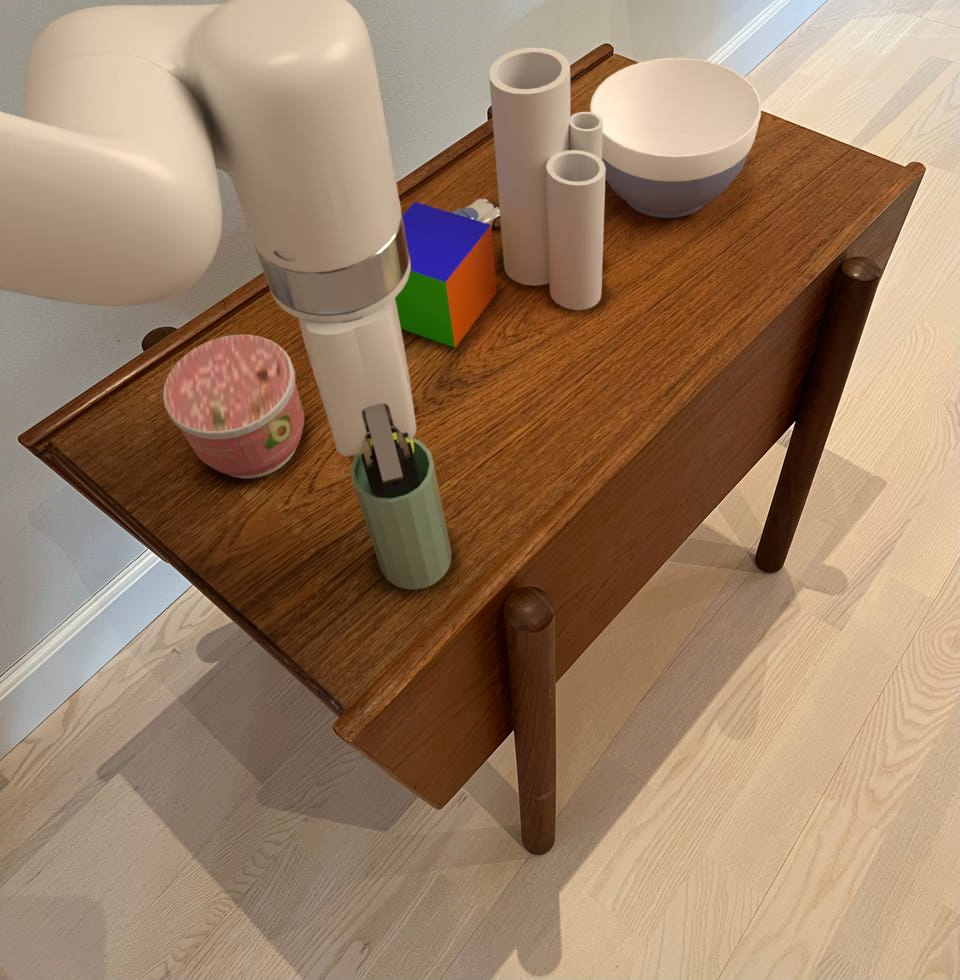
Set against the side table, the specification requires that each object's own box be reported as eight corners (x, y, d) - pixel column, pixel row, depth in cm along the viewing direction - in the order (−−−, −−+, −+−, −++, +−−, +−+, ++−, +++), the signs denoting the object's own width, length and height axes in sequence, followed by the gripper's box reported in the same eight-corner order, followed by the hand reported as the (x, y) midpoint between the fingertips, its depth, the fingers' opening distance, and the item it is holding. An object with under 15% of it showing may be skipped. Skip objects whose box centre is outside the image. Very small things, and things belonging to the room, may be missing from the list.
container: (198, 505, 78) (164, 446, 72) (191, 411, 84) (159, 349, 78) (323, 475, 79) (300, 414, 72) (307, 385, 85) (285, 321, 78)
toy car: (532, 209, 96) (531, 188, 94) (437, 262, 93) (433, 241, 91) (511, 192, 98) (509, 171, 96) (416, 244, 95) (413, 223, 93)
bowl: (647, 124, 103) (653, 40, 95) (776, 176, 96) (794, 90, 88) (556, 201, 97) (555, 118, 89) (688, 263, 90) (699, 179, 82)
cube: (425, 268, 93) (414, 201, 86) (496, 292, 90) (491, 224, 83) (382, 321, 89) (366, 256, 82) (455, 347, 86) (445, 282, 80)
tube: (387, 597, 72) (358, 510, 62) (374, 538, 75) (344, 446, 65) (458, 579, 72) (441, 489, 62) (442, 520, 75) (423, 426, 66)
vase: (489, 268, 92) (471, 78, 75) (535, 228, 95) (527, 36, 78) (582, 317, 87) (585, 125, 71) (628, 273, 90) (640, 79, 74)
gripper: (245, 172, 53) (317, 389, 68) (282, 383, 43) (356, 580, 58) (376, 143, 53) (418, 364, 68) (440, 345, 44) (473, 550, 59)
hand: (389, 462), depth 63 cm, fingers closed on ball, 3 cm apart
